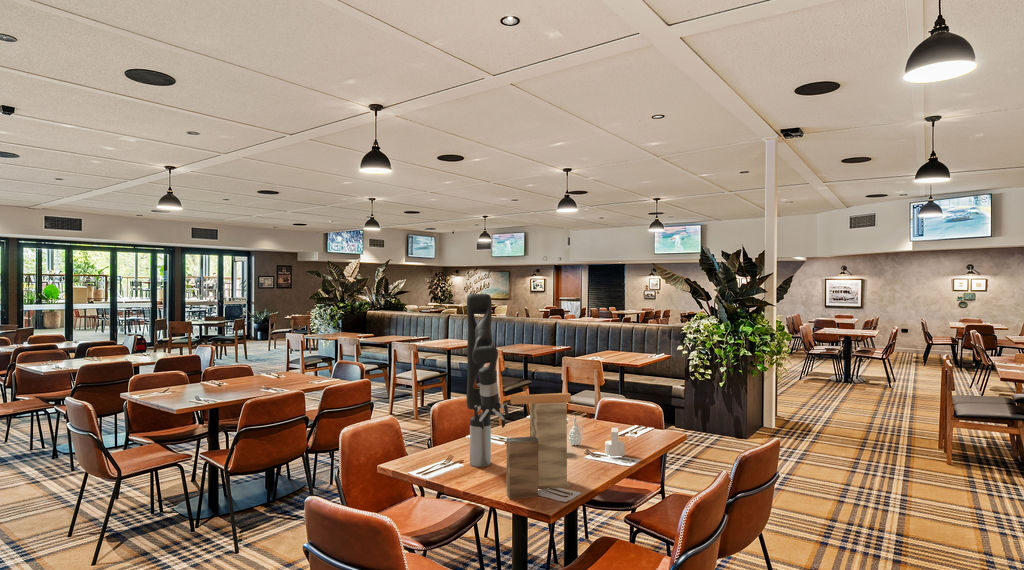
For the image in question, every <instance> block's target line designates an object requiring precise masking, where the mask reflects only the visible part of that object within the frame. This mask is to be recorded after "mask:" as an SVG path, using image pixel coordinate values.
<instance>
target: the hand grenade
mask: <svg viewBox="0 0 1024 570" xmlns="http://www.w3.org/2000/svg"><path fill="white" fill-rule="evenodd" d="M577 422H580V423H581V421H580V420H577V417H576V416H574V417H573V425H572V427H571V428H570V429H569V433H568V441H569V444H570V445H572V444H573V445H578V446H579V445H580V444H581V441H582V440H583V441H584V440H585V439H584V429H583V427H582V426H581V425H578V424H577Z"/></svg>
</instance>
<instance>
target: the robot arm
mask: <svg viewBox="0 0 1024 570" xmlns="http://www.w3.org/2000/svg"><path fill="white" fill-rule="evenodd" d="M492 303H493V302H492V297H491V295H490V294H488V293H469V294H468V295H467V297H466V314H467V316H466V317H467V318H466V319H467V344H466V346H467V348H466V349H467V352H466V355H467V357H466V359H467V380H466V381H467V382H466V383H467V384H466V407H467V409H469V410H473V411H474V415H473V416H472V417H470V419H469V466H472V467H477V468H478V467H479V468H482V467H488V466H490V465H491V462H492V456H491V455H492V451H491V450H492V446H491V445H492V437H491V436H492V430H491V429H492V425H491V424H492V419H491V416H497V417H499V418H500V419H501V428H502V429H503V428H504V427H505V426H506V419H509V416H510V415H509V408H508V402H504V403H500V398H499V397H500V396H499V387H498V386H499V385H498V382H497V375H496V374H497V372H496V371H497V369H496V367H497V363H498V357H499V350H498V348H497V347H496V345H492V344H493V335H492V317H493V316H492V312H493V311H492V309H493V308H492V306H493V305H492ZM475 315H483V317H482V318H481V319H480V321H479V322H478V323H477V322H476V319H475ZM486 364H488V365H486ZM477 378H478V380H479V387H475V384H476V381H477ZM501 408H502V409H503V410H504V413H503V411H501ZM480 410H481V411H482V412H481V413H479V411H480Z"/></svg>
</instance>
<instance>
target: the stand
mask: <svg viewBox="0 0 1024 570" xmlns="http://www.w3.org/2000/svg"><path fill="white" fill-rule="evenodd" d="M567 404H568V403H567V402H554V403H534V404H529V437H531V436H535V437H536V438H537V439H538V489H542V490H549V489H548V488H553V489H562V488H571V484H570V483H569V482H568V463H567V462H568V439H567V438H568V432H567V431H568V426H567V425H568V423H567V422H568V419H567V418H568V417H567V416H568V415H567V412H568V409H567V408H568V405H567Z"/></svg>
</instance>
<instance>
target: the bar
mask: <svg viewBox="0 0 1024 570" xmlns="http://www.w3.org/2000/svg"><path fill="white" fill-rule="evenodd" d="M571 394H572V393H569V392H558V393H556V392H555V393H540V394H539V393H537V394H534V393H533V394H514V395H510V397H509V398H510V401H509V402H510V404H511V405H512V406H515V405H530V404H534V403H554V402H565V403H567V402H569V403H571V402H572V395H571Z"/></svg>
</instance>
